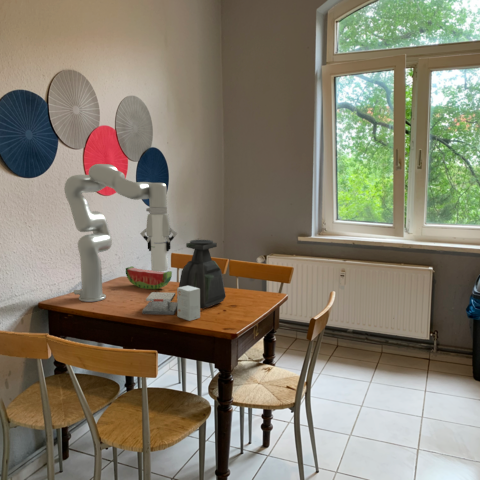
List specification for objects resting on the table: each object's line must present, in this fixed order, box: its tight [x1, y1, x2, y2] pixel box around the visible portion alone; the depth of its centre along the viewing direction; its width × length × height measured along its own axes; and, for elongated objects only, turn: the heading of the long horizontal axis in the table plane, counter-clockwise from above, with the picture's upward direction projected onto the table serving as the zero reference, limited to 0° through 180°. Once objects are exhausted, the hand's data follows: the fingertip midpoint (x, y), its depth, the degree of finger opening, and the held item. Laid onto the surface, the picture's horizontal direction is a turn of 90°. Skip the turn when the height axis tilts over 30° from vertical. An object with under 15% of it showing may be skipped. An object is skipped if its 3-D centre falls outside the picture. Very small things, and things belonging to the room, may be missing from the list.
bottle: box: [178, 239, 227, 310], centre depth 215 cm, size 18×16×30 cm
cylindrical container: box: [150, 215, 169, 272], centre depth 203 cm, size 7×7×25 cm
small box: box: [176, 286, 201, 322], centre depth 196 cm, size 8×6×13 cm
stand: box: [141, 291, 177, 316], centre depth 207 cm, size 14×14×6 cm
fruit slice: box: [125, 266, 173, 290], centre depth 245 cm, size 26×6×10 cm, turn 65°
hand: (159, 250), depth 204 cm, fingers closed on cylindrical container, 7 cm apart
